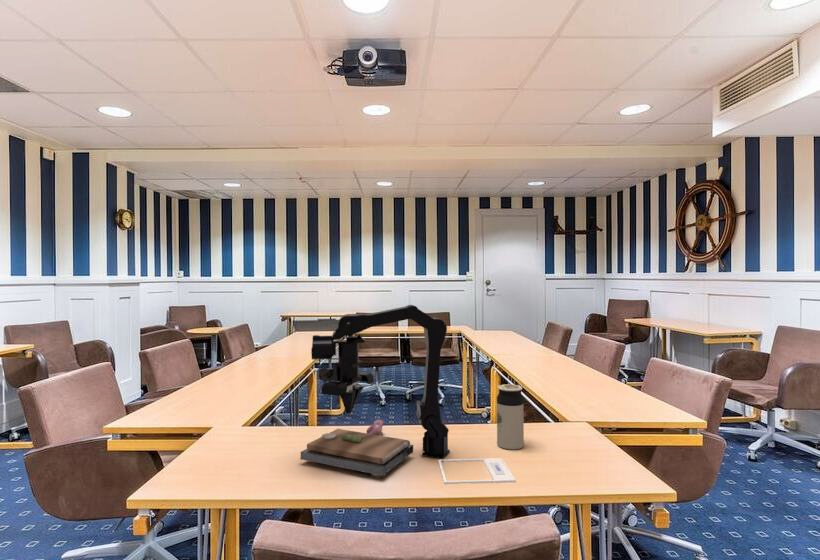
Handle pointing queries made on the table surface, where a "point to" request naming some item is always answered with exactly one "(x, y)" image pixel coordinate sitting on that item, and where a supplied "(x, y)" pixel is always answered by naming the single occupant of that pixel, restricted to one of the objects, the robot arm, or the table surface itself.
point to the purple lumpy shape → (376, 428)
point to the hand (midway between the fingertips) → (348, 413)
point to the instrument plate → (359, 445)
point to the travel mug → (510, 417)
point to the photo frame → (494, 467)
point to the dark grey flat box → (357, 461)
